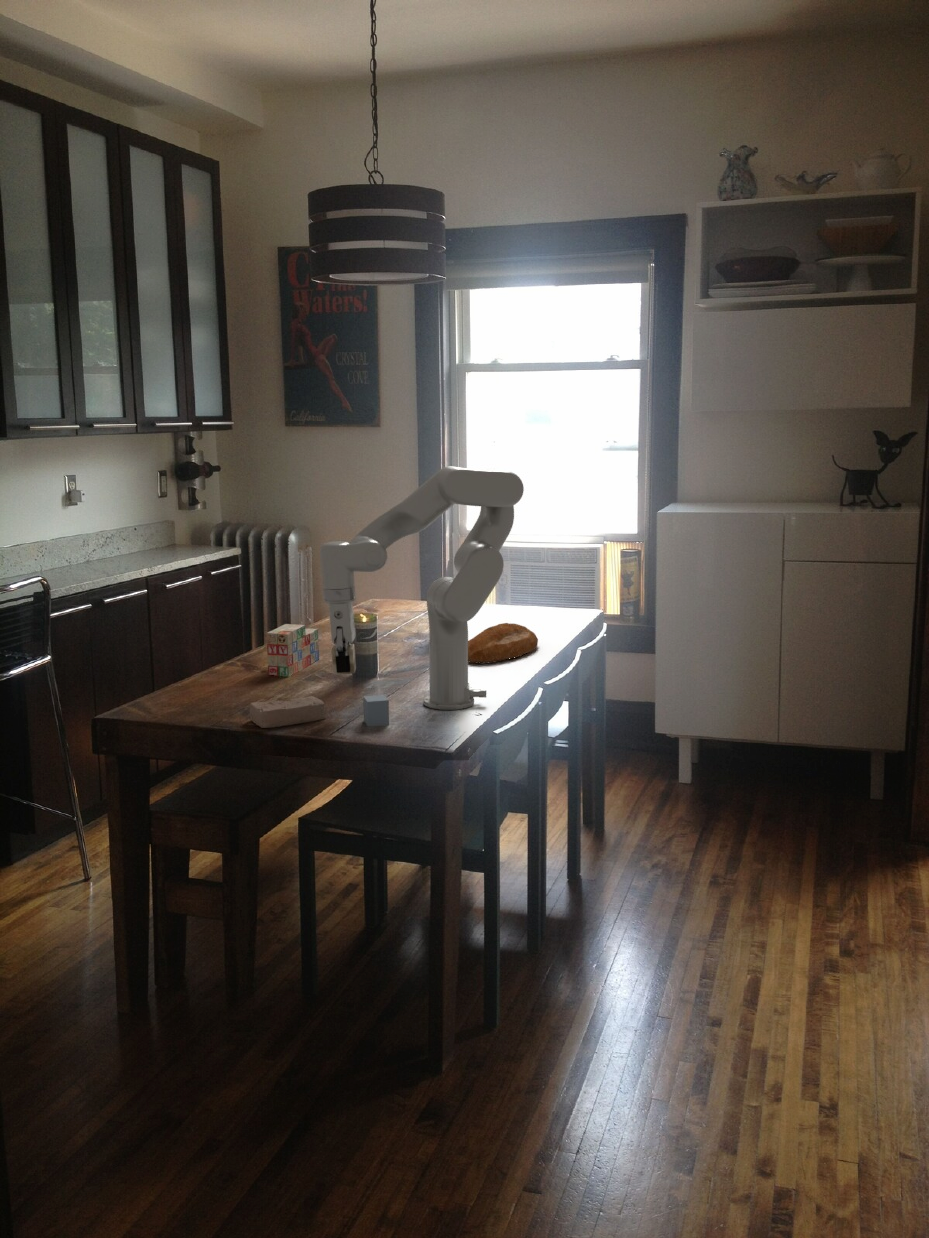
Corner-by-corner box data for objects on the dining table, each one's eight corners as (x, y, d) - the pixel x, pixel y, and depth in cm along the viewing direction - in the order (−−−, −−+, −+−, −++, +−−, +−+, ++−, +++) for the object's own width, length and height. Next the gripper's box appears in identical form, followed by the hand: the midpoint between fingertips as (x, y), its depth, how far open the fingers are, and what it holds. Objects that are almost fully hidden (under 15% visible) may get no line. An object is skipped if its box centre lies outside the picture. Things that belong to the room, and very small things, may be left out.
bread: (442, 661, 318) (442, 631, 316) (505, 640, 347) (505, 612, 345) (494, 669, 308) (494, 638, 306) (554, 646, 337) (554, 618, 336)
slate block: (384, 719, 260) (384, 694, 259) (389, 725, 255) (388, 700, 254) (363, 720, 258) (363, 696, 257) (367, 726, 254) (367, 701, 253)
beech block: (356, 668, 265) (354, 644, 264) (354, 673, 260) (352, 648, 259) (335, 669, 265) (333, 645, 264) (333, 674, 260) (331, 650, 259)
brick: (313, 711, 267) (313, 692, 266) (328, 720, 260) (327, 700, 259) (248, 722, 259) (247, 702, 258) (261, 731, 252) (260, 711, 251)
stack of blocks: (299, 658, 321) (298, 617, 318) (319, 660, 319) (318, 618, 317) (267, 676, 301) (266, 632, 298) (289, 677, 299) (287, 633, 297)
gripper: (352, 600, 251) (357, 677, 254) (357, 587, 267) (362, 659, 271) (319, 602, 250) (325, 679, 254) (327, 588, 267) (332, 661, 271)
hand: (344, 668), depth 263 cm, fingers closed on beech block, 5 cm apart
